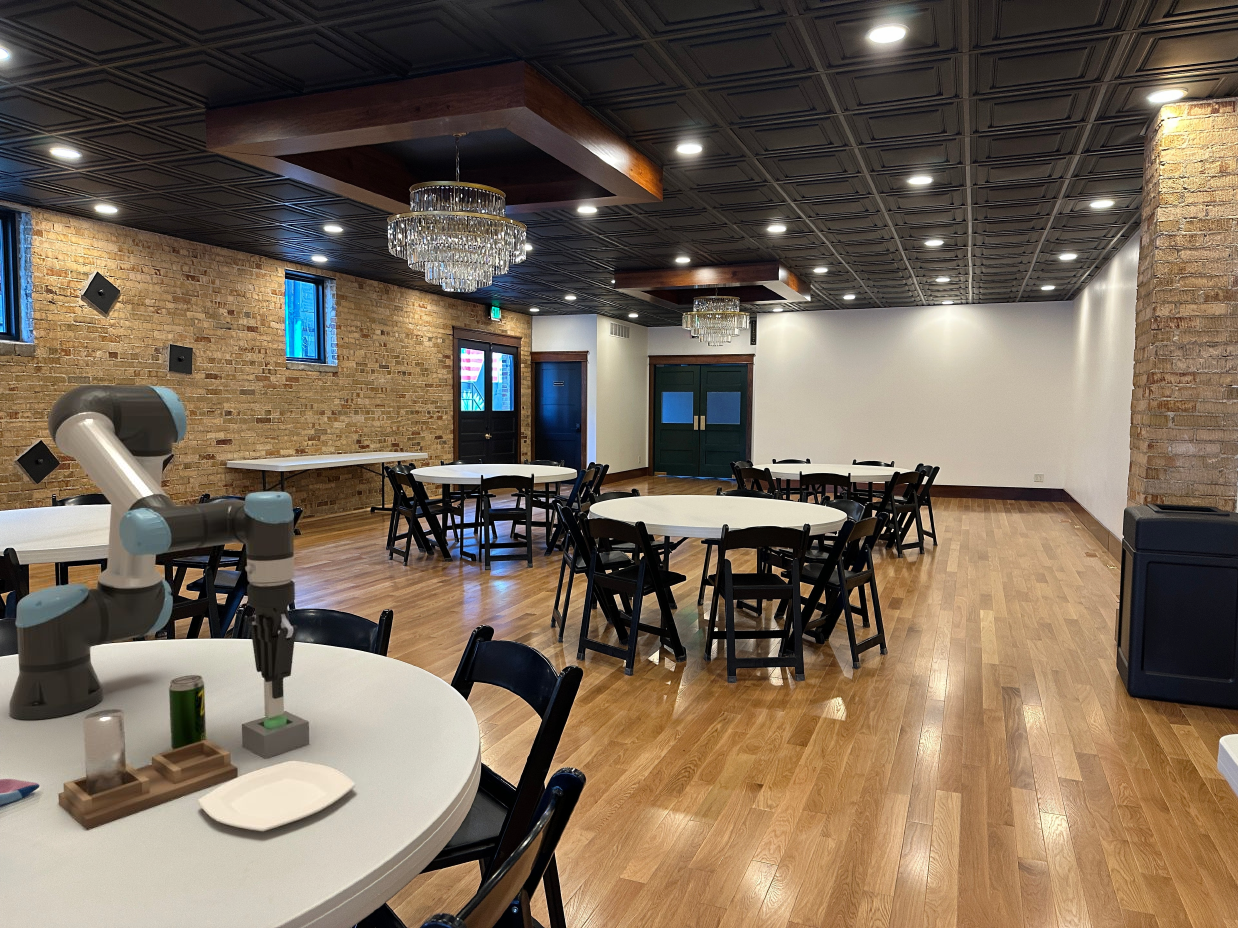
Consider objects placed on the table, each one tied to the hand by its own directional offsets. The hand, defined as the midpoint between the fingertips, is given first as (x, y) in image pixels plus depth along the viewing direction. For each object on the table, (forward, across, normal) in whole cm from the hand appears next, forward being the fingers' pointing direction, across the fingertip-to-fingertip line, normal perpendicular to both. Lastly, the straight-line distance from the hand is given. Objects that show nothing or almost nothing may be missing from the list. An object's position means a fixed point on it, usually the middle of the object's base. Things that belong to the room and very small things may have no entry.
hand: (274, 714), depth 139 cm
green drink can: (+6, -11, -10) cm, 16 cm away
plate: (+6, +20, -10) cm, 23 cm away
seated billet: (+4, +1, -26) cm, 27 cm away
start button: (+4, 0, 0) cm, 4 cm away
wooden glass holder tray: (+6, +1, -20) cm, 21 cm away
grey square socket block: (+6, 0, 0) cm, 6 cm away
